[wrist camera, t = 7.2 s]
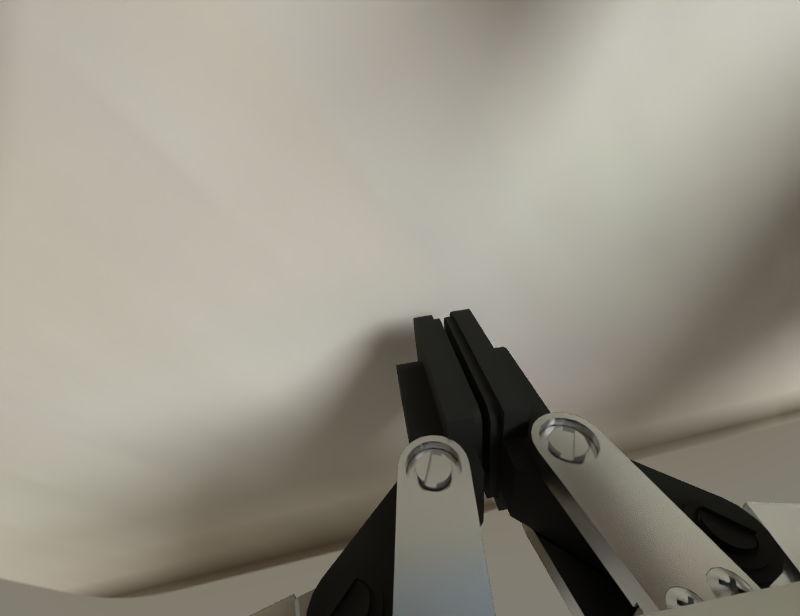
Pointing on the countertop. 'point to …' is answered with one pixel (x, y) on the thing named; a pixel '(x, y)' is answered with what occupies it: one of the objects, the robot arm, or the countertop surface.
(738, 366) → the countertop surface
